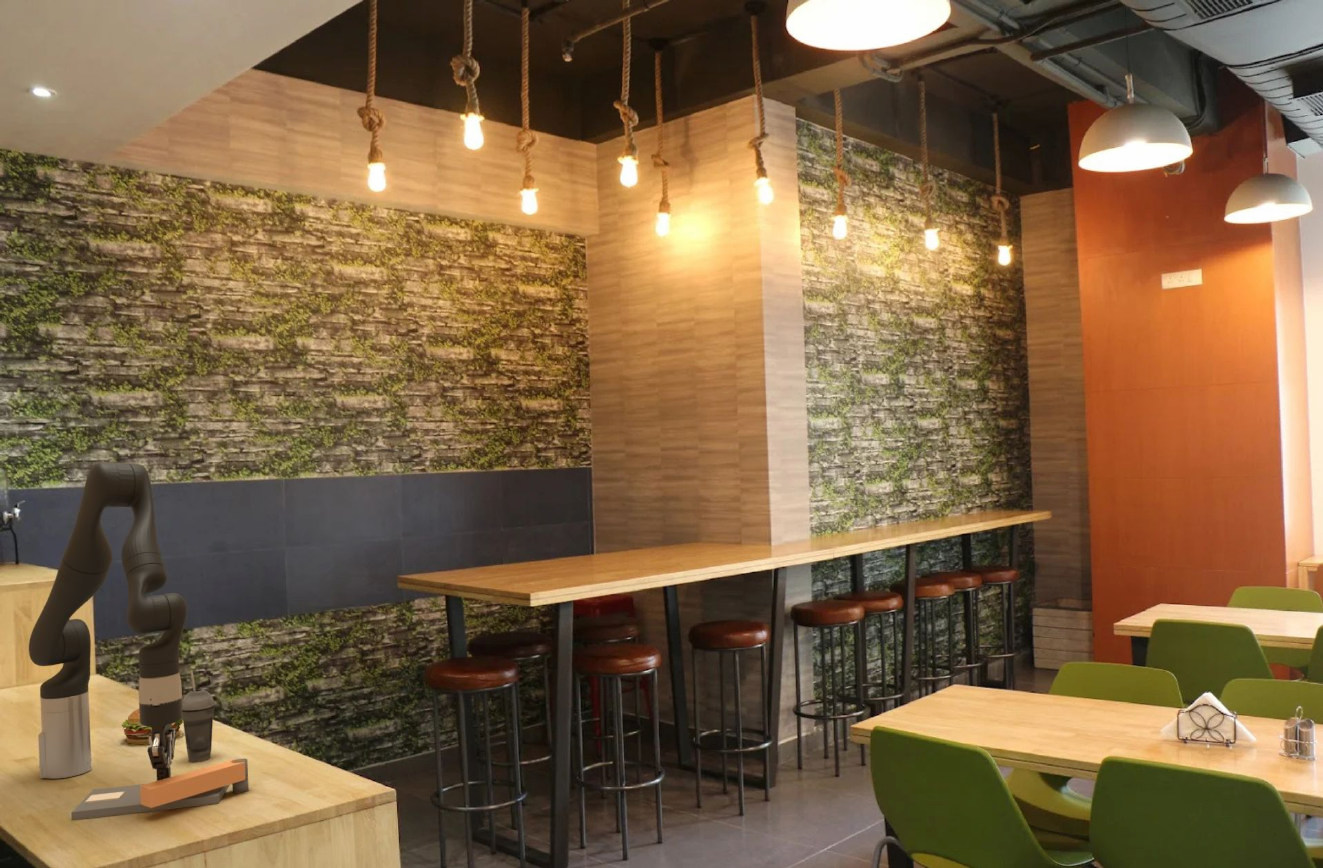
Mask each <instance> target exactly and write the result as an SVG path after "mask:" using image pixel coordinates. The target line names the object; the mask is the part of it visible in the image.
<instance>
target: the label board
mask: <svg viewBox="0 0 1323 868" xmlns="http://www.w3.org/2000/svg"><path fill="white" fill-rule="evenodd" d="M144 784H145V783H139V784H132V785H123V786H112V787H105V788H104V787H103V788H95V789H92V790H91V792H90V793H88V795H86V797H84V799H83V800H81V802H80V803H79V804H78V805H77V806H76V807H75V808H74V809H72V811H71V812H70V813H71V821H75V820H77V821H78V820H83V819H84V820H85V819H92V818H93V819H94V818H102V817H110V816H111V817H112V816H119V815H127V814H128V815H129V814H137V813H147V812H155V811H164V810H172V809H182V808H189V807H191V808H192V807H197V806H198V807H199V806H207V805H217V804H219V803H220V801H221V799H223V796H224V794H225V793H226V791H227V789H228V788H229V786H230V784H229V785H226V786H223V787H219V788H216V789H213V790H210V791H206V792H203V793H200V794H196V795H193V796H190V797H186V798H183V799H180V800H176V801H173V802H170V803H166V804H163V805H160V806H156V807H153V808H150V807H147V806H144V805H141V795H140V786H141V785H144ZM231 785H232V793H234V794H240V793H245V792H247V791H249V789H250V788H249V777H248V778H246V780H243V781H239V782H236V783H233V784H231Z"/></svg>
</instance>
